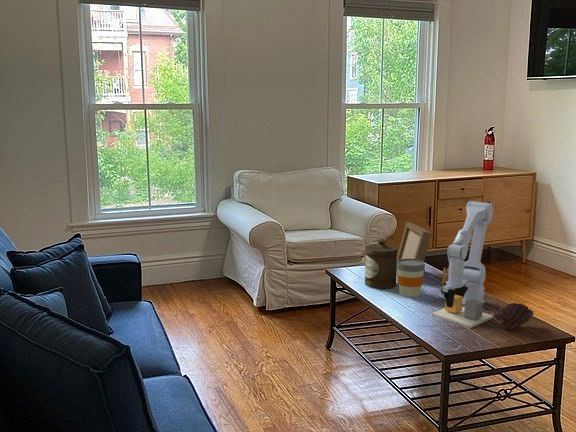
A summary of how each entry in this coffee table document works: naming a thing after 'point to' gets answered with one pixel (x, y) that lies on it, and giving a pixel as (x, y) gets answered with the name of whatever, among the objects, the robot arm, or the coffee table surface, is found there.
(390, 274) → the wooden container
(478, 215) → the robot arm
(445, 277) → the ammunition clip
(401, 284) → the reusable coffee cup
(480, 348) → the coffee table surface
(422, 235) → the photo frame
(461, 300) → the amber foam cube
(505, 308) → the pine cone
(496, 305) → the coffee table surface
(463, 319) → the board
